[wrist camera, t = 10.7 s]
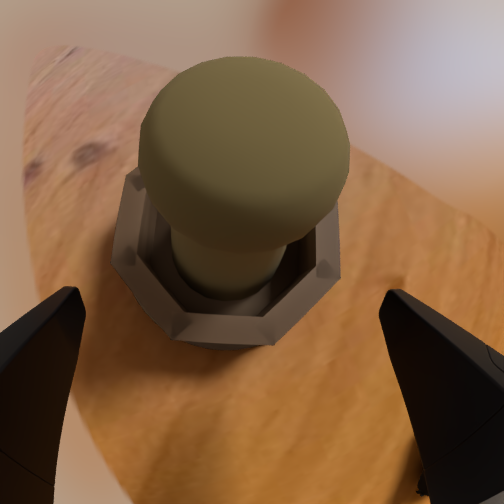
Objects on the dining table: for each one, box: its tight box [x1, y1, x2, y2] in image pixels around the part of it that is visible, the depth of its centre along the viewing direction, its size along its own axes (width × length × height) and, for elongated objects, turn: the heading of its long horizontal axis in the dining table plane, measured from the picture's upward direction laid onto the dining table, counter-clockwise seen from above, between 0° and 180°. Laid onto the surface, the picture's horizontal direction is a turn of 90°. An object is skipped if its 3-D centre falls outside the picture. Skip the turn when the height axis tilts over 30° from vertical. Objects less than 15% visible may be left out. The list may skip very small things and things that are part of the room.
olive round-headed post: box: [138, 57, 350, 301], centre depth 11 cm, size 6×6×11 cm
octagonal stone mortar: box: [110, 167, 341, 350], centre depth 15 cm, size 12×12×4 cm
